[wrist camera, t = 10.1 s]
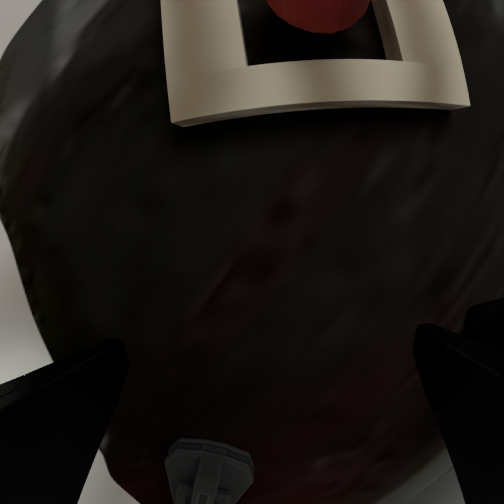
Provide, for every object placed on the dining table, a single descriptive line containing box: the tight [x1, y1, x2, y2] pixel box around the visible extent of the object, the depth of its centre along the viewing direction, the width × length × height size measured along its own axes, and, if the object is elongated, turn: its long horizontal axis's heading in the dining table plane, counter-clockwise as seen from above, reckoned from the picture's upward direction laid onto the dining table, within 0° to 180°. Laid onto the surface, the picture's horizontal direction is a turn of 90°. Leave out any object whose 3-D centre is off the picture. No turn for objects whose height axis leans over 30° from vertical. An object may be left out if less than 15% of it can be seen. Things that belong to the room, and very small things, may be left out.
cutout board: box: [161, 0, 470, 127], centre depth 14 cm, size 18×14×2 cm
